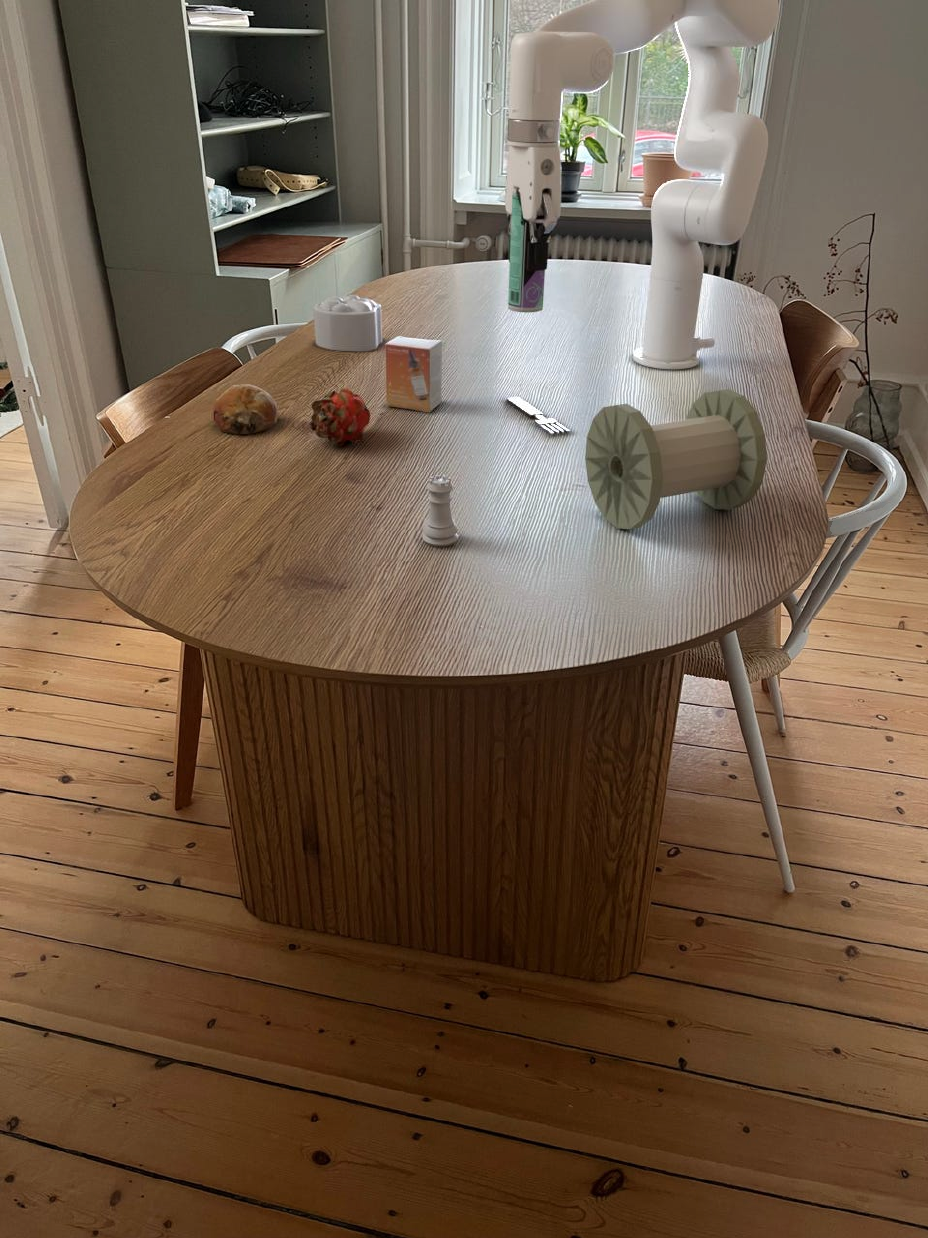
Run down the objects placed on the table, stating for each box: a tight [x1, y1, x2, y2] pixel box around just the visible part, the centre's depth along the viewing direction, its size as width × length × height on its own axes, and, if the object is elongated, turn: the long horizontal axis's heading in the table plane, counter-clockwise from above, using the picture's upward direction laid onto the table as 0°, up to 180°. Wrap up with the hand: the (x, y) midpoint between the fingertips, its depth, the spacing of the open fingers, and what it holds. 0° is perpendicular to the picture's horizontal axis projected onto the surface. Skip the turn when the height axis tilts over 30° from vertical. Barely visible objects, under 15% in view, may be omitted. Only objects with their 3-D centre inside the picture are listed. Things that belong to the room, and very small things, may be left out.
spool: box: [584, 388, 768, 530], centre depth 118 cm, size 16×15×15 cm
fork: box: [505, 396, 570, 437], centre depth 152 cm, size 17×3×1 cm, turn 24°
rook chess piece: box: [421, 474, 459, 548], centre depth 112 cm, size 4×4×8 cm
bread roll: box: [212, 383, 279, 435], centre depth 147 cm, size 10×10×8 cm
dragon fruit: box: [309, 387, 371, 447], centre depth 141 cm, size 8×8×12 cm
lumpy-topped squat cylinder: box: [313, 294, 383, 352], centre depth 186 cm, size 10×13×9 cm
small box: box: [384, 335, 443, 413], centre depth 154 cm, size 8×6×10 cm
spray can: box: [507, 186, 546, 314], centre depth 142 cm, size 6×6×20 cm
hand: (527, 264), depth 144 cm, fingers closed on spray can, 5 cm apart
